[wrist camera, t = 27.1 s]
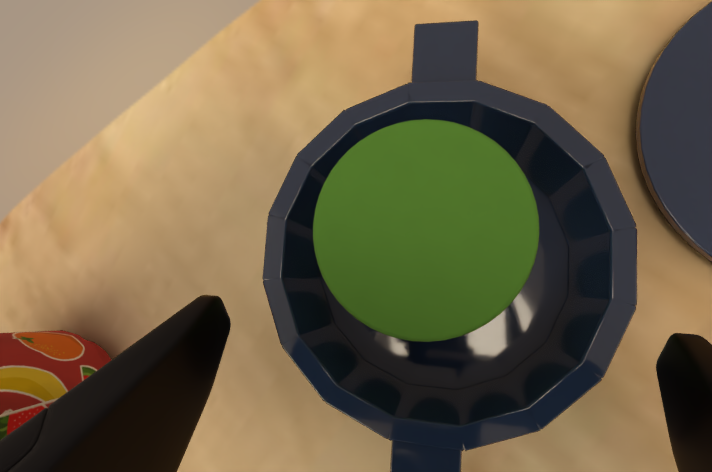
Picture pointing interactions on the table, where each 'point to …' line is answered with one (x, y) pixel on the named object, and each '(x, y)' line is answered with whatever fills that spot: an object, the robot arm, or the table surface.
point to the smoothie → (41, 371)
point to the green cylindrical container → (426, 230)
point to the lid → (681, 131)
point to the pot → (505, 332)
